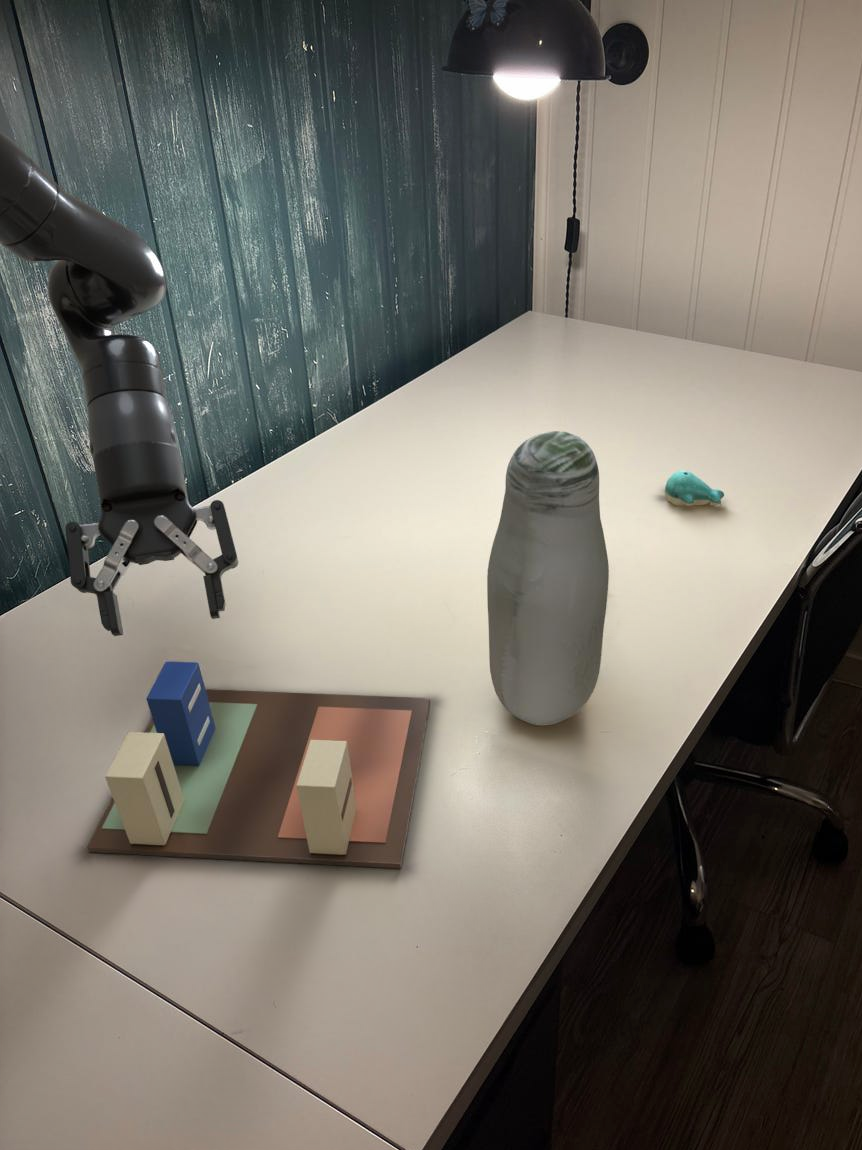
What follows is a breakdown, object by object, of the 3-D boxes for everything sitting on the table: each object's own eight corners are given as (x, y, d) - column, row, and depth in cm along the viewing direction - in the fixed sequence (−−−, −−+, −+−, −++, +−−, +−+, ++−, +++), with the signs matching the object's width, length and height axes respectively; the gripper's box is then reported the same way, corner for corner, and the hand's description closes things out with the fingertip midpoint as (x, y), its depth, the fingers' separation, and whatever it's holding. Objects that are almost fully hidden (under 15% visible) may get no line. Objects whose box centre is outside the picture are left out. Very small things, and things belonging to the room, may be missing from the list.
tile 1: (129, 844, 78) (103, 776, 73) (150, 798, 82) (127, 731, 77) (166, 846, 78) (142, 778, 73) (185, 800, 82) (164, 732, 77)
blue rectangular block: (166, 765, 85) (145, 698, 80) (184, 726, 89) (165, 660, 84) (199, 766, 85) (180, 699, 80) (216, 727, 89) (199, 662, 84)
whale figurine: (671, 485, 124) (674, 459, 122) (726, 496, 122) (731, 470, 120) (658, 506, 120) (661, 479, 118) (715, 518, 118) (719, 491, 115)
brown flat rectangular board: (88, 852, 78) (86, 846, 78) (169, 692, 94) (168, 686, 93) (400, 868, 76) (400, 863, 76) (430, 702, 92) (429, 697, 92)
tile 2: (308, 853, 77) (295, 785, 72) (321, 806, 81) (309, 739, 76) (346, 855, 77) (335, 787, 72) (357, 808, 80) (347, 740, 76)
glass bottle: (570, 757, 86) (586, 482, 68) (472, 720, 90) (464, 452, 72) (613, 693, 93) (637, 428, 75) (519, 662, 97) (522, 403, 79)
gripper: (219, 455, 91) (249, 618, 90) (64, 476, 89) (92, 646, 87) (212, 428, 84) (244, 605, 83) (42, 450, 81) (73, 634, 80)
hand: (166, 626), depth 85 cm, fingers open, 8 cm apart
